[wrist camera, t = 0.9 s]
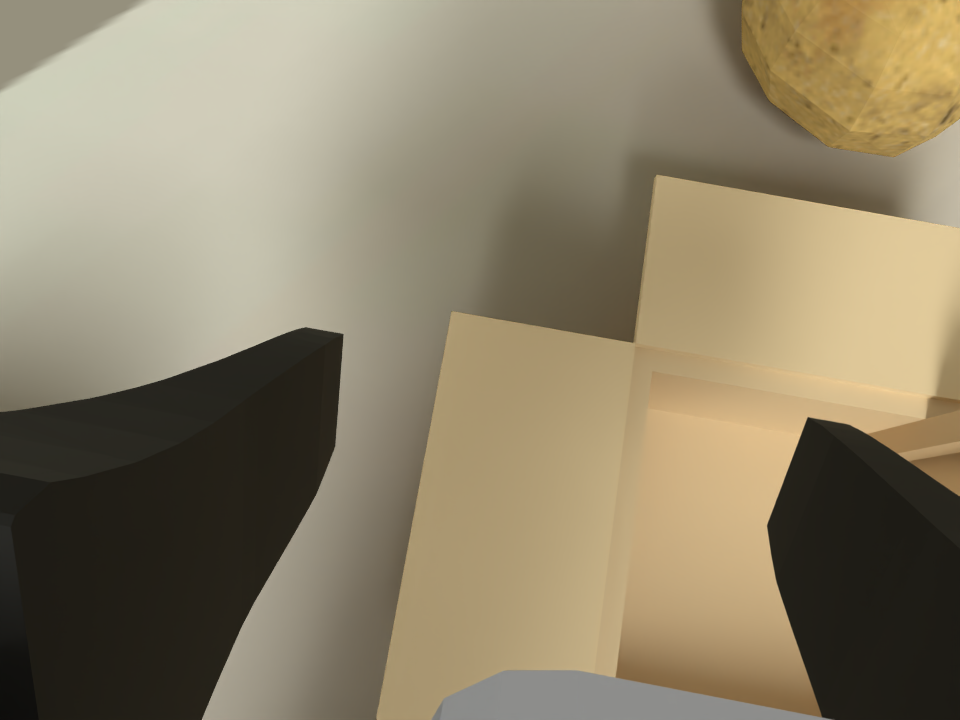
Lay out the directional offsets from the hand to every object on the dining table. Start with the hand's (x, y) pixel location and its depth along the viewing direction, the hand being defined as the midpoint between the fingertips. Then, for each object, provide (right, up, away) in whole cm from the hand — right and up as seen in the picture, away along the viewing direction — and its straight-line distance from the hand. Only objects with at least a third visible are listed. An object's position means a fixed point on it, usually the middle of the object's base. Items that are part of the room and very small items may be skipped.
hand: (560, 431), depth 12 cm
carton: (+4, -6, +13) cm, 15 cm away
